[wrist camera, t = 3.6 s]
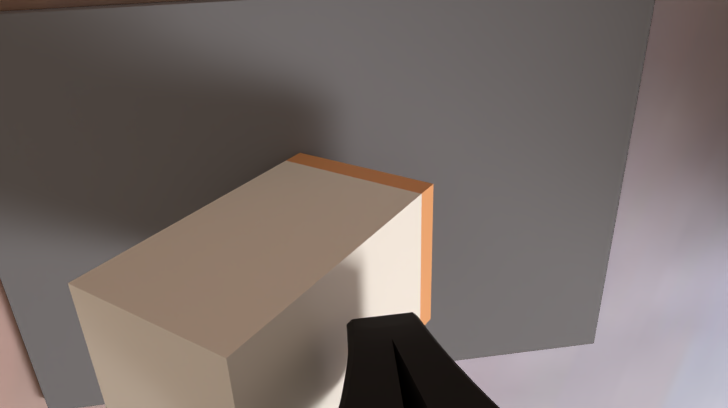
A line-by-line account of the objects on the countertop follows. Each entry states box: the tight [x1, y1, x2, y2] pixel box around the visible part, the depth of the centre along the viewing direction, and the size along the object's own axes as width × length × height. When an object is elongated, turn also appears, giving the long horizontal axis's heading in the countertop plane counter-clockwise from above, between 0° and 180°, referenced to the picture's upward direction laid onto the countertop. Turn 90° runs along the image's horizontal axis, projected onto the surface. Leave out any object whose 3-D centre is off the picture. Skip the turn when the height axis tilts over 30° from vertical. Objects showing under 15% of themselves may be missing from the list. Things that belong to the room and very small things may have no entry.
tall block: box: [68, 153, 434, 408], centre depth 14 cm, size 4×4×7 cm
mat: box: [0, 0, 655, 408], centre depth 18 cm, size 18×12×1 cm, turn 91°
